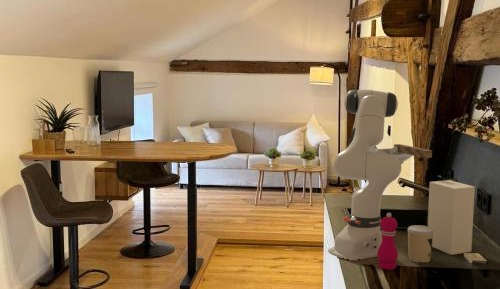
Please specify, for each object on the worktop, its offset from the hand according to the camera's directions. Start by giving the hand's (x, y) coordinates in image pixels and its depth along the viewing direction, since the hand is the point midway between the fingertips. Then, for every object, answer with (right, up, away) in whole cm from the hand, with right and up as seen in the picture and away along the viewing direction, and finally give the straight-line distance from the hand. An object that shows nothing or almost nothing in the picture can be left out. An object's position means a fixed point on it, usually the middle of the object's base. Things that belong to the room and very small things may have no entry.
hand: (401, 147), depth 247 cm
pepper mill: (-18, -43, -47) cm, 66 cm away
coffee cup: (-4, -42, -39) cm, 58 cm away
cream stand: (+12, -40, -26) cm, 49 cm away
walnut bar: (+3, -3, -6) cm, 7 cm away
